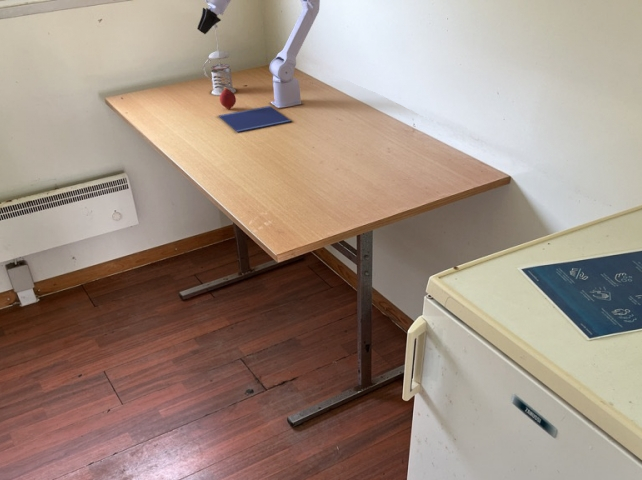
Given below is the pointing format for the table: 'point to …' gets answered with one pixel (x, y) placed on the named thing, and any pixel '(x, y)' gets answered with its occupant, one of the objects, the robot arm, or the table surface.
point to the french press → (220, 67)
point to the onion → (227, 98)
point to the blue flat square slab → (254, 119)
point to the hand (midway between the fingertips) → (201, 31)
